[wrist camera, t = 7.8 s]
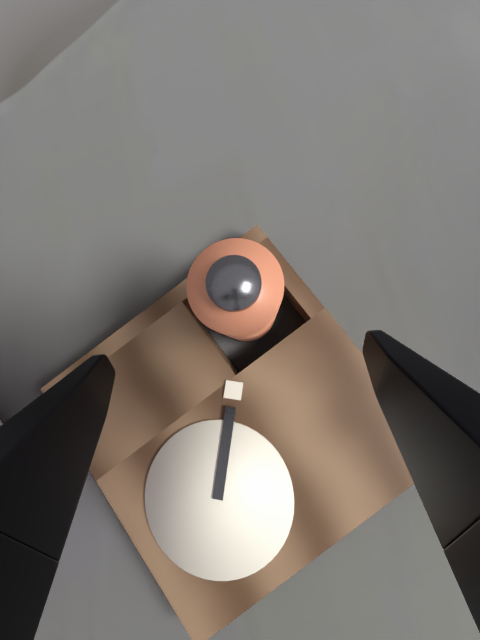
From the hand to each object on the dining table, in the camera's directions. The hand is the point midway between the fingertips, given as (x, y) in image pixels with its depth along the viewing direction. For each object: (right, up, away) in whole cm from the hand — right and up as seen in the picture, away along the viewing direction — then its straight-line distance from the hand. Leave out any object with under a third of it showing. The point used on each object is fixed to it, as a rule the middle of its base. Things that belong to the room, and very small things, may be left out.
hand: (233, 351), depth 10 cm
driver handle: (+1, +2, +13) cm, 13 cm away
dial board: (0, -6, +12) cm, 13 cm away
